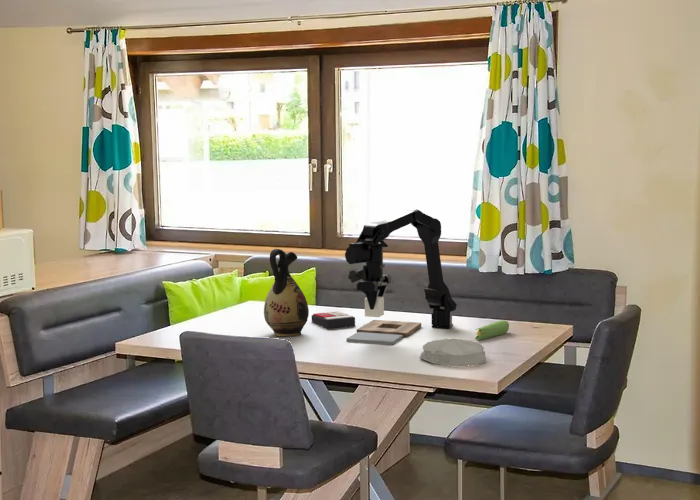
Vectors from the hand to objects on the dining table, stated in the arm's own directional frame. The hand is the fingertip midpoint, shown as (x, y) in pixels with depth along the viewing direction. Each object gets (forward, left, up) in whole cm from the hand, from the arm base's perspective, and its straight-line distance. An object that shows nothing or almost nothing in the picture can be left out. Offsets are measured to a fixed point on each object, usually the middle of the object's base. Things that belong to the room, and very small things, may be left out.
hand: (374, 308), depth 288 cm
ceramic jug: (+32, +2, -11) cm, 34 cm away
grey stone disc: (-31, +17, -11) cm, 37 cm away
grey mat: (0, 0, -11) cm, 11 cm away
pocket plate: (0, -16, -11) cm, 19 cm away
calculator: (+23, -20, -11) cm, 32 cm away
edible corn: (-35, -17, -11) cm, 41 cm away
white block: (0, 0, -2) cm, 3 cm away
